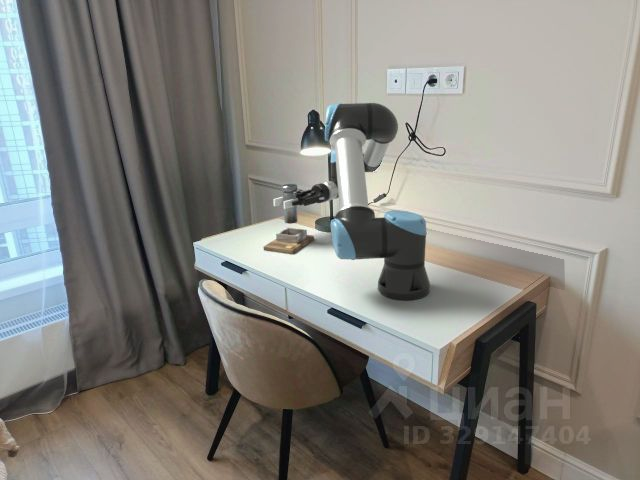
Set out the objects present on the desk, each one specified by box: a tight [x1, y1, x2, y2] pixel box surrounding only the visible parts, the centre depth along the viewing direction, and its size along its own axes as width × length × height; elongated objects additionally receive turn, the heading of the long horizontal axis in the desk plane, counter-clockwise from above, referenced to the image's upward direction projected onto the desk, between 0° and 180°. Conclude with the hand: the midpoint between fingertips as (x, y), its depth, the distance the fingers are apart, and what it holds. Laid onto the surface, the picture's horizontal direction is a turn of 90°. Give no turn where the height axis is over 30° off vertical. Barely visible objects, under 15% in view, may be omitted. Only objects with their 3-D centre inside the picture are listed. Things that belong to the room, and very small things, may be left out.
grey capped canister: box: [281, 183, 299, 225], centre depth 180 cm, size 6×6×14 cm
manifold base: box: [263, 227, 315, 255], centre depth 182 cm, size 18×12×4 cm, turn 155°
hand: (279, 204), depth 176 cm, fingers closed on grey capped canister, 5 cm apart
